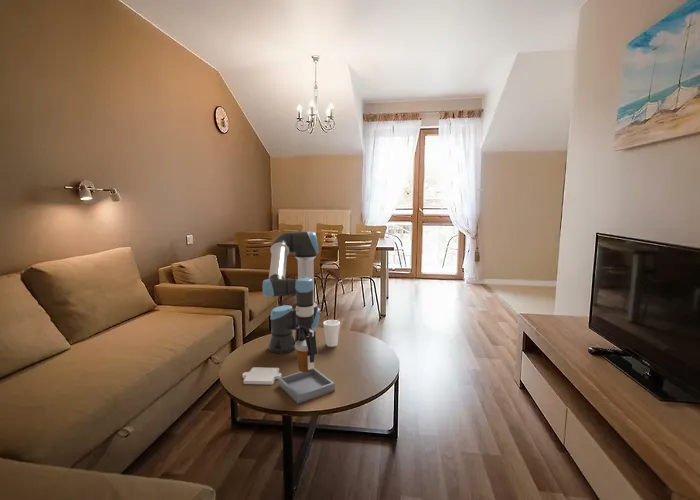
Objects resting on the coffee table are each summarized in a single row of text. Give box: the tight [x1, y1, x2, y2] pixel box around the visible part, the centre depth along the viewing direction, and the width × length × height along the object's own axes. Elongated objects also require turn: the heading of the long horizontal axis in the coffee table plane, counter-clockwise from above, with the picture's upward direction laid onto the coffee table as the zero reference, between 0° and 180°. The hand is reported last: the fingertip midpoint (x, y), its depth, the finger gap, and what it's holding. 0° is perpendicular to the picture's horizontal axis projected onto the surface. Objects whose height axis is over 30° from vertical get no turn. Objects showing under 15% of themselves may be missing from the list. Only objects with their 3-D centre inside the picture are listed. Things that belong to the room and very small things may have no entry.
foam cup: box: [322, 319, 341, 348], centre depth 206 cm, size 10×9×13 cm
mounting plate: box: [242, 366, 282, 385], centre depth 169 cm, size 18×13×2 cm
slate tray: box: [278, 367, 336, 405], centre depth 159 cm, size 18×18×4 cm
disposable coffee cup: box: [294, 339, 317, 372], centre depth 157 cm, size 10×10×12 cm
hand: (306, 364), depth 158 cm, fingers closed on disposable coffee cup, 8 cm apart
